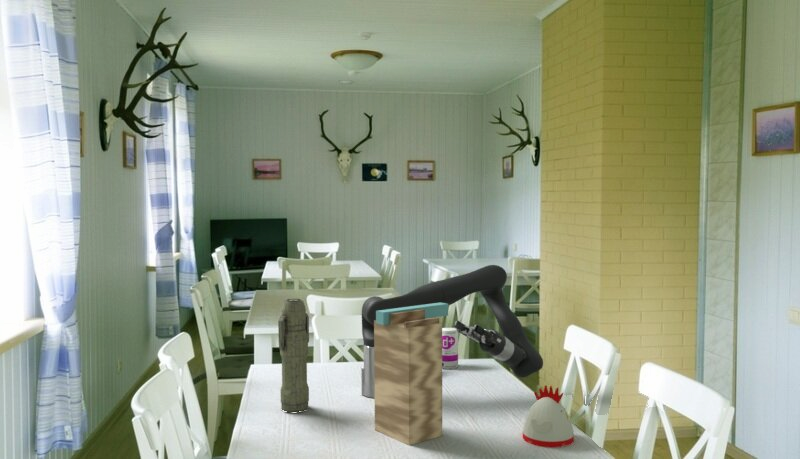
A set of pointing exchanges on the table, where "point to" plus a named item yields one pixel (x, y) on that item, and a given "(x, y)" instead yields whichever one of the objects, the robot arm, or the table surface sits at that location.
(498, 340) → the robot arm
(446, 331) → the supplement can
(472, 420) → the table surface
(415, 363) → the stand
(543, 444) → the kitchen timer
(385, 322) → the block
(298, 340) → the stone statue
